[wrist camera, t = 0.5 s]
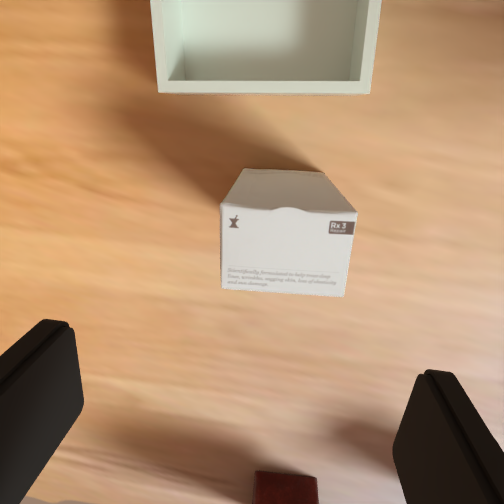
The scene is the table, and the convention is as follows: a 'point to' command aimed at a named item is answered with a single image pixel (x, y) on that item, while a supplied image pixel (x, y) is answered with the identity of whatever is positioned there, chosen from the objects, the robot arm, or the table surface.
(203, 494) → the table surface
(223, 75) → the box
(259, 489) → the red-brown bottle
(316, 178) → the skincare box
